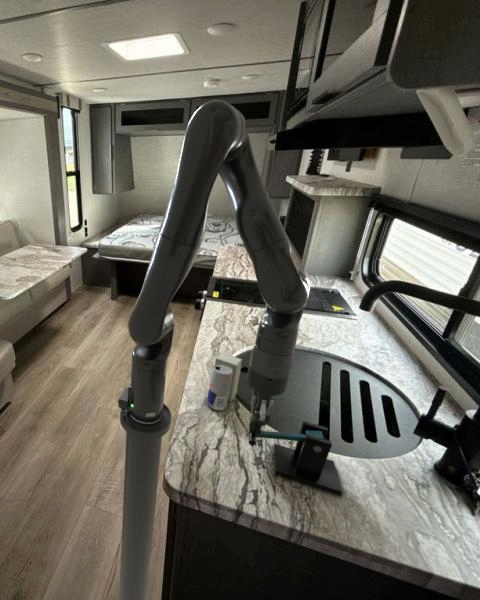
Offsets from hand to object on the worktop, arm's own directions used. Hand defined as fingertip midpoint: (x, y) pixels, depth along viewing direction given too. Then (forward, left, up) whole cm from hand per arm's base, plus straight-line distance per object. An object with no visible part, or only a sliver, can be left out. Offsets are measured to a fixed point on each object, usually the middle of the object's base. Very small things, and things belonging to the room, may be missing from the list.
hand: (254, 431), depth 69 cm
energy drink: (-9, +14, -7) cm, 18 cm away
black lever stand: (+11, 0, -7) cm, 13 cm away
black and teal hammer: (+6, 0, 0) cm, 6 cm away
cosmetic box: (-7, +20, -7) cm, 22 cm away
